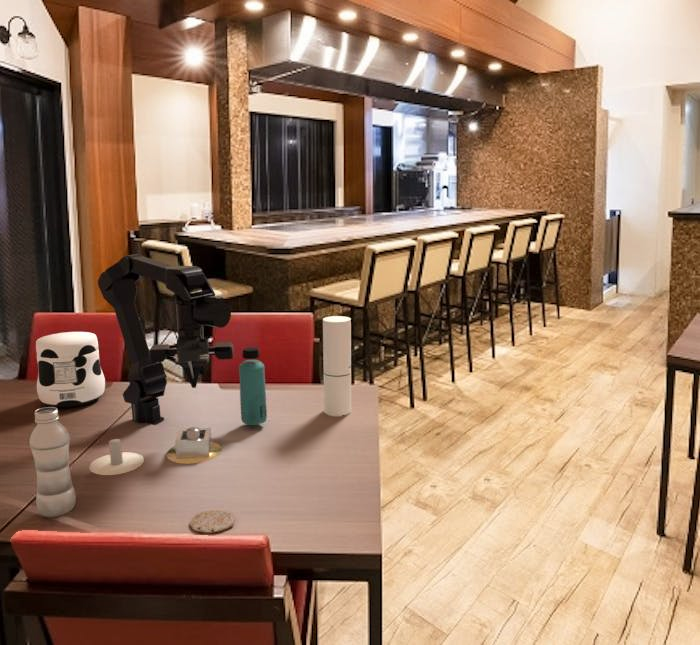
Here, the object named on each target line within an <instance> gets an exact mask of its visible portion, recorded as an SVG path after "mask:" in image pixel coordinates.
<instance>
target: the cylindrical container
mask: <svg viewBox="0 0 700 645" xmlns="http://www.w3.org/2000/svg"><path fill="white" fill-rule="evenodd" d="M351 320H352V318H351V317H349V316H345V315H344V316H341V315H332V316H326V317H323V318H322V348H323V349H322V353H323V357H322V358H323V361H322V363H323V412H325V413H326V414H325V413H324V414H325V415H327V414H328V415H327V416H330V415H331V416H330V417H343V416H342V415H345V416H347V415H346V414H348V413H350V412H351V413H352V322H351ZM351 413H350V414H351ZM348 415H349V414H348Z"/></svg>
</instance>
